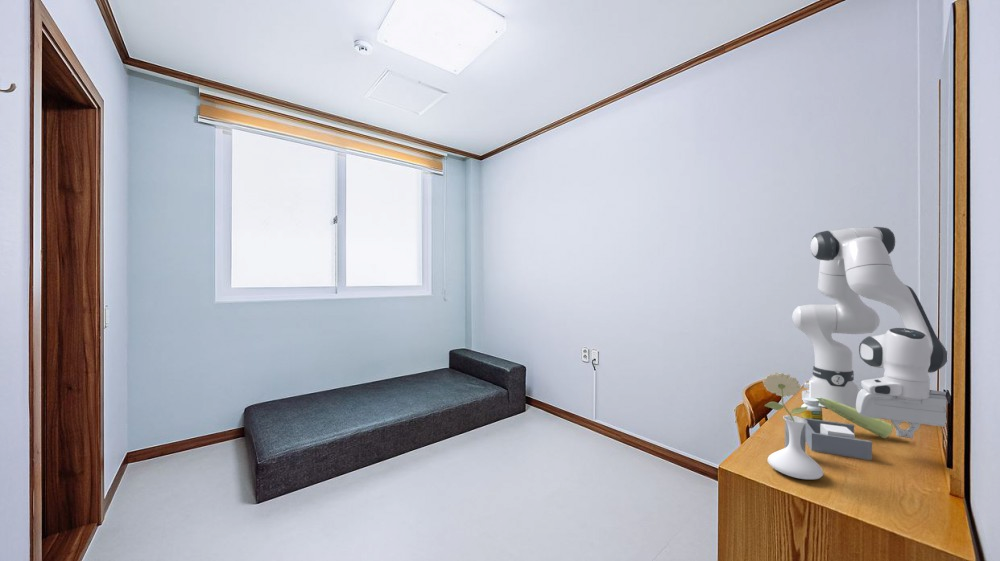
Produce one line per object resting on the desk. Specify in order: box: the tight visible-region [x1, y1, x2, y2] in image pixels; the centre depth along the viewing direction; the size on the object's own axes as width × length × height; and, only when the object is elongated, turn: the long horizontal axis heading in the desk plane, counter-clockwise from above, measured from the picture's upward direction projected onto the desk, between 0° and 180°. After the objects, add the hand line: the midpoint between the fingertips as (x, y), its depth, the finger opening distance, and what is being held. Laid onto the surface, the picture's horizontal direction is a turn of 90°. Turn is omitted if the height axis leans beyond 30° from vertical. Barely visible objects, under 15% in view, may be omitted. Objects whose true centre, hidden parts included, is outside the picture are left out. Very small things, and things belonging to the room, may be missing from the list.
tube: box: [811, 397, 894, 439], centre depth 122 cm, size 6×5×20 cm
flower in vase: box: [762, 372, 824, 480], centre depth 98 cm, size 13×11×25 cm
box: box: [800, 416, 873, 461], centre depth 113 cm, size 14×13×5 cm
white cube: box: [820, 424, 856, 439], centre depth 111 cm, size 6×6×6 cm
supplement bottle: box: [800, 397, 824, 420], centre depth 126 cm, size 5×5×10 cm
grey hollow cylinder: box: [784, 420, 806, 453], centre depth 107 cm, size 4×4×10 cm
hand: (904, 436), depth 107 cm, fingers closed
